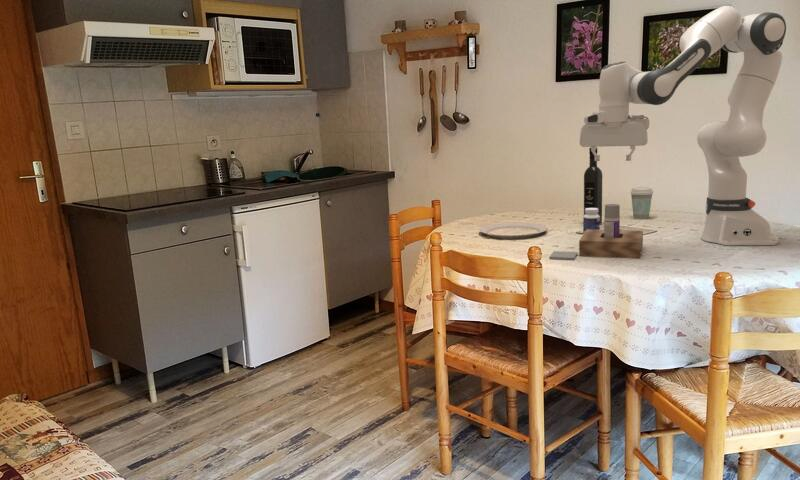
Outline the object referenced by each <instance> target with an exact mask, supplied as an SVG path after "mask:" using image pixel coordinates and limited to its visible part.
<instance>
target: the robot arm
mask: <svg viewBox="0 0 800 480" xmlns="http://www.w3.org/2000/svg"><path fill="white" fill-rule="evenodd" d="M786 32H787V24H786V20H785V17H783V16H782V15H781V14H780V13H776V12H769V11H767V12H763V13H753V14H748V15H746V16H741V13H740V12H739V11H738V9H736V8H735V7H734V6H731V5H730V6H729V5H722V6H720V7H717V8H715V9H714V10H712V11H710V12H709V13H707V14H706V15H704V16H702V17H701V18H700V19H698V20H697V21H696V22H694V23H693V24H692V25H691V26H689V27H688V28H687V29H686V30H685V31H684V32H683V34H682V35H681V37H680V38H679V49H680V51H681V53H679V55H678V56H676V57H675V58H674V59H673V60H671V62H670V63H668V64H667V65H666V66H665V67H663V68H659V69H655V70H651V71H643V70H639V69H637V68H635V67H633V66H632V65H630V64H629V63H628V62H627V61H618V62H613V63H609V64H607V65H605V66H603V67H602V68H601V71H600V75H599V85H598V87H599V89H598V94H599V105H598V111H597V112H593V113H592V114H589V115H586V116H584V118H583V123H584V124H583V125H582V127H581V129H580V135H579V145H580V146H581V147H582V148H591V151H592V153H593V154H594V156H595V161H597V162H600V161H601V159H600V158H601V154H598V152H597V153H596V152H595V150H596V148H599V147H600V148H601V147H629V149H630V150H631V151H630V152H629V154H626V155H625V162H627V161H629V162H631V161H632V155H633V154H634V151H635V150H636V146H637V147H639V146H641V147H643V146H646V145H647V144H648V142H649V141H648V140H649V139H648V129H649V127H650V119H649V117H647V116H645V115H643V114H640V115H633V114H632V115H630V114H629V110H630V104H634V105H653V106H659V105H660V106H661V105H663V104H665V103H666V102H668V101H669V100H670V99H671V98H672V96H673V95H674V94H675V91H676V90H677V88H678V87H679V86H680V84H681V83H682V82H683V81H685V79H686V78H688V76H690V75H691V74H692V73H693V72H694V71H695V70H696V69H698V68H699V66H701V65H702V64H703V63H704V62H705V61H707V59H709V58H710V57H711V56H712V55H713V54H715V53H716V52H717V51H719V50H720V49H722V50H723V51H726V52H728V53H732V54H737V53H743V61H742V65H741V66H740V69H739V71H738V73H737V76H736V77H735V80H734V82H733V84H732V86H731V89H730V92H729V94H728V97H727V103H728V105H729V115H728V119H727V121H726V120H723V121H722V120H717V121H712V122H710V123H707V124H705V125H703V126H702V127H701V128H700V129H699V131H698V132H697V136H696V140H697V144H698V146H699V148H700V149H701V150H702V152H703V155H704V159H705V162H706V167H707V171H708V172H707V173H708V191H707V192H708V195H707V197H706V201H705V214H706V216H705V222H704V223H705V224H704V227H703V230H702V234H701V237H700V239H701V240H702V241H705V242H709V243H713V244H714V243H715V244H719V245H722V246H775V245H778V244H779V238H778V236H776V235H774V234H772V229H771V225H770V223H769V222H768V220H767V219H766V218H765V217H763V216H762V215H760V214H759V213H758V212H756V211H755V210H753V208H755V207H756V202H755V201H754V200H751V199H750V198H748V197H747V184H748V174H747V172H746V170H745V169H744V168H743V166H742V164H741V160H740V158H743V157H749V156H753V155H756V154H758V153H760V152H761V151H762V150H763V148H765V145H766V142H767V133H766V131H765V129H764V126H763V120H764V119H763V117H764V111H765V108H766V105H767V102H768V99H769V97H770V95H771V93H772V90H773V89H774V86H775V83H776V81H777V79H778V76H779V72H780V70H781V65H782V62H783V53H782V52H781V51H780V49H781V47H782V46H783V43H784V40H785V37H786Z"/></svg>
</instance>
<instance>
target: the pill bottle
mask: <svg viewBox="0 0 800 480" xmlns="http://www.w3.org/2000/svg"><path fill="white" fill-rule="evenodd" d="M585 213H586V214H585V215H584V214H583V217H582V219H583V221H582V222H583V223H582V225H583V228H582V235H583V234H584V233H585V231H586V230H587V229H595V230H601V229H600V228H601V224H600V216H599V215H598V208H585Z"/></svg>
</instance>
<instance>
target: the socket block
mask: <svg viewBox="0 0 800 480" xmlns="http://www.w3.org/2000/svg"><path fill="white" fill-rule="evenodd" d="M643 236H644V230H633V229H632V230H627V229H626V230H624V229H620V232H619V238H604V229H600V230H595V229H587V230H586V231H585V233H584V234H583V233H582V236H581V238H580V239H579V240H578V248H579V249H578V256H579V257H594V258H596V257H597V258H598V257H599V258H603V257H604V258H621V259H622V258H623V259H641V254H642V249H643V246H644V245H643V244H644V240H643V239H644V237H643Z"/></svg>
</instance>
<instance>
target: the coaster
mask: <svg viewBox="0 0 800 480" xmlns="http://www.w3.org/2000/svg"><path fill="white" fill-rule="evenodd" d="M577 256H579V251H578V252H577V251H562V250H561V251H558V250H553V252H552V253H551V254H550V256H549V260H560V261H575V259H576V258H577Z"/></svg>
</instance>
